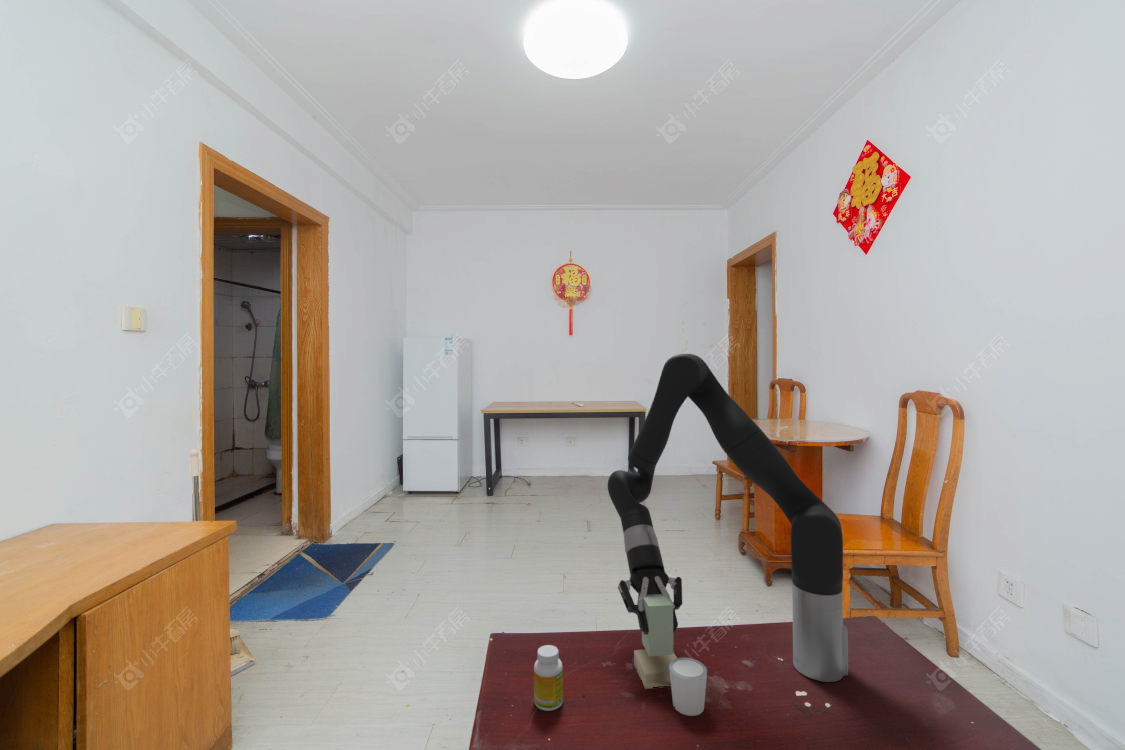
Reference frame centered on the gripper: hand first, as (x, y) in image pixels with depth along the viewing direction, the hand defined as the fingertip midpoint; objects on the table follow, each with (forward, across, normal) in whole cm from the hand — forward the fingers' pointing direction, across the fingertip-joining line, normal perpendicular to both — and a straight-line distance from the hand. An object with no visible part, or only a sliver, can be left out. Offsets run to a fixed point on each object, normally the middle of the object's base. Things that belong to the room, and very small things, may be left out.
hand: (660, 631), depth 98 cm
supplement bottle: (+9, -23, +5) cm, 25 cm away
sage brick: (+2, 0, +4) cm, 5 cm away
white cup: (+13, +3, +1) cm, 13 cm away
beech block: (+6, 0, +8) cm, 10 cm away
